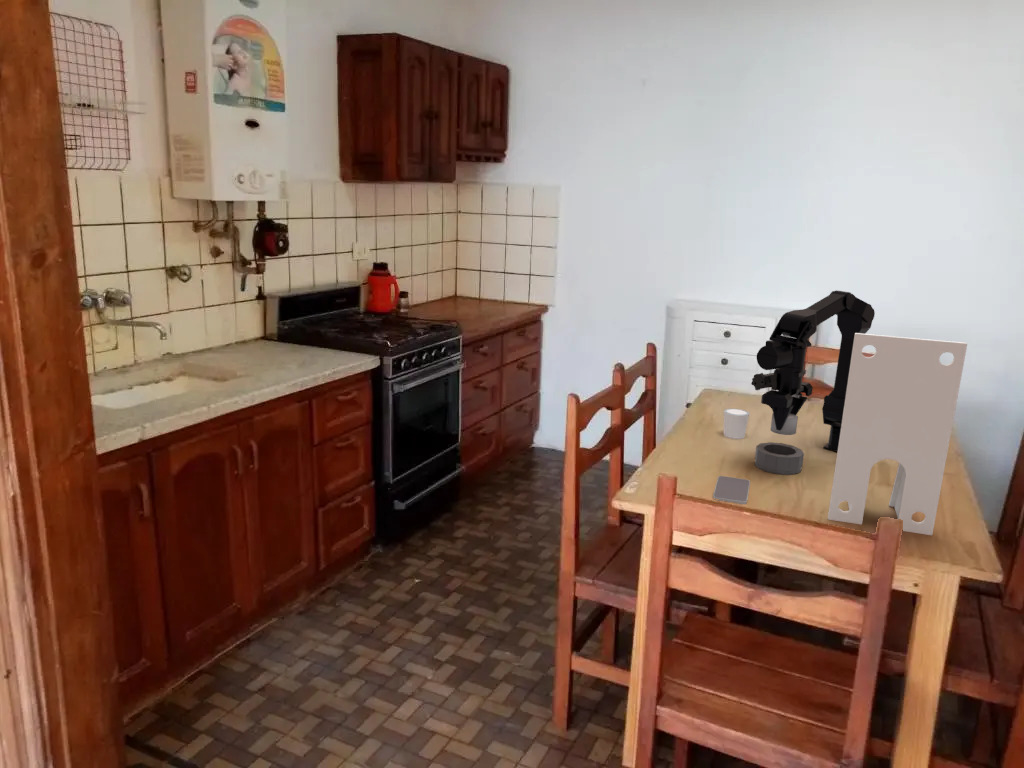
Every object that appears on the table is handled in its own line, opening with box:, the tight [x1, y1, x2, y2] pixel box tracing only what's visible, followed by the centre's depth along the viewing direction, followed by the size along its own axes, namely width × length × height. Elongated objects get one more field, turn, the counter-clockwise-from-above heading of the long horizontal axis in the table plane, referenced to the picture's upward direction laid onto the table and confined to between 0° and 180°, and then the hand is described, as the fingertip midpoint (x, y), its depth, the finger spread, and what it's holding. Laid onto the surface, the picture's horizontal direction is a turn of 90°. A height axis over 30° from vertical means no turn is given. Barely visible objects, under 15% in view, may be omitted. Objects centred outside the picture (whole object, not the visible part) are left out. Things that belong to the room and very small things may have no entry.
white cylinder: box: [723, 408, 750, 440], centre depth 224 cm, size 7×7×7 cm
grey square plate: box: [712, 475, 751, 505], centre depth 185 cm, size 7×1×15 cm
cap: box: [769, 413, 799, 436], centre depth 198 cm, size 6×6×4 cm
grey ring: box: [754, 441, 805, 476], centre depth 200 cm, size 11×11×4 cm
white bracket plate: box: [827, 333, 968, 536], centre depth 169 cm, size 20×14×40 cm
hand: (783, 427), depth 198 cm, fingers closed on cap, 6 cm apart
